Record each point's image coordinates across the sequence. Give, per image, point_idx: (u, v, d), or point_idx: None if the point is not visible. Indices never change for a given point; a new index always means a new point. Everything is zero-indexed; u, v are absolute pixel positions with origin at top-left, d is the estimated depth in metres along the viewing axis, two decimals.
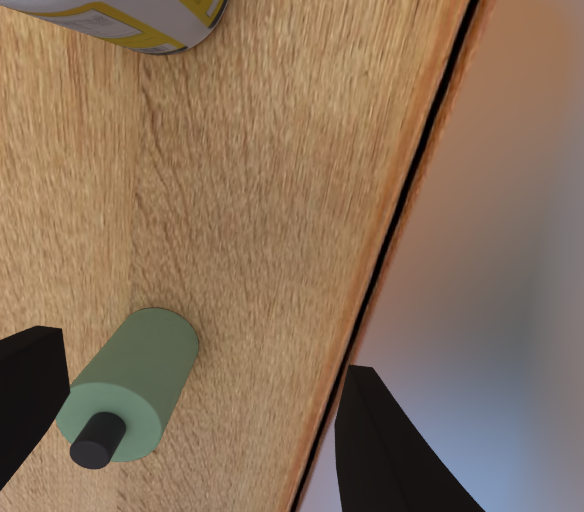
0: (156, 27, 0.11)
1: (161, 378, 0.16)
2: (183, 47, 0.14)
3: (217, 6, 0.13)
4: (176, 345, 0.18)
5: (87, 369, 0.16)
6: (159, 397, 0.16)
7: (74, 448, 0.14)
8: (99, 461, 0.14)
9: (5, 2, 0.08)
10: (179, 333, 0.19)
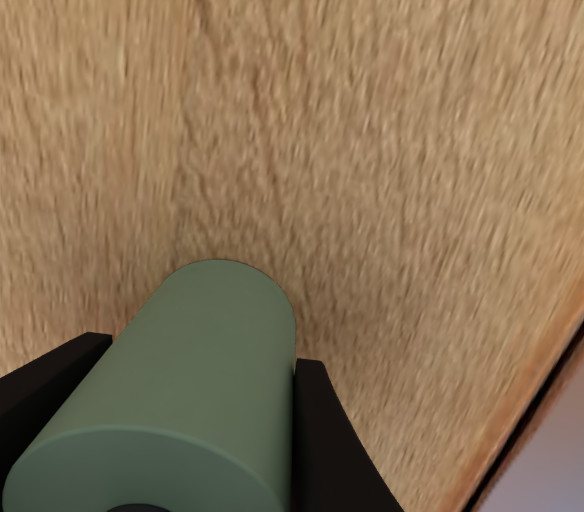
0: None
1: (272, 404, 0.07)
2: None
3: None
4: (276, 329, 0.09)
5: (90, 384, 0.06)
6: (278, 457, 0.06)
7: None
8: None
9: None
10: (274, 306, 0.09)
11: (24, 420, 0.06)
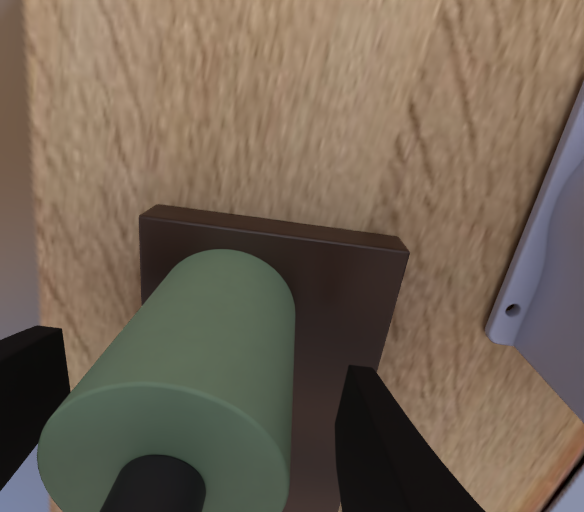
0: None
1: (273, 373, 0.07)
2: None
3: None
4: (277, 311, 0.09)
5: (112, 352, 0.07)
6: (280, 417, 0.07)
7: None
8: None
9: None
10: (275, 291, 0.10)
11: None
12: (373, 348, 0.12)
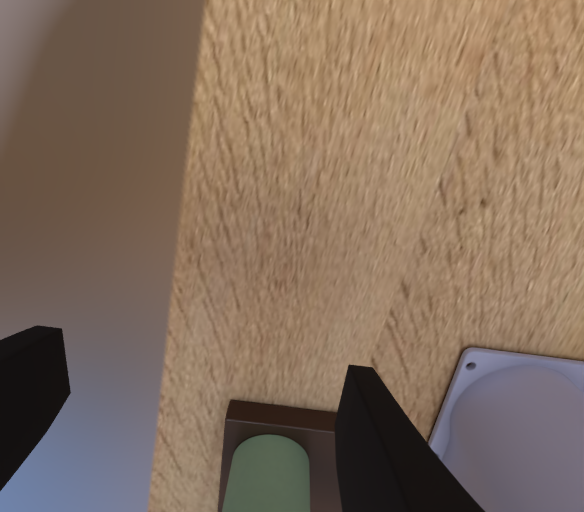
0: None
1: None
2: None
3: None
4: (302, 482, 0.19)
5: None
6: None
7: None
8: None
9: None
10: (300, 465, 0.20)
11: None
12: None
